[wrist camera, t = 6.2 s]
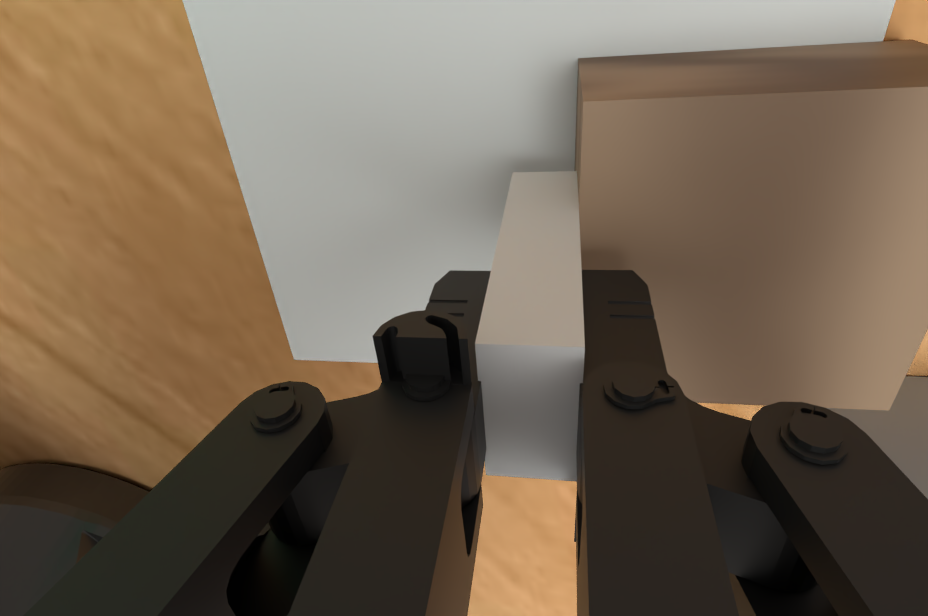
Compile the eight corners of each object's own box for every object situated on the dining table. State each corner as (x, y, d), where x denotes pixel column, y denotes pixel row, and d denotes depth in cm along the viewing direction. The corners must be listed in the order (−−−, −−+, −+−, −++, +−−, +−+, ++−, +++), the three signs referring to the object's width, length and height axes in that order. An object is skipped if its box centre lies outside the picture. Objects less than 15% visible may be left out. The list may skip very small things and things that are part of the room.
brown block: (570, 306, 17) (571, 396, 14) (577, 58, 13) (583, 101, 10) (821, 310, 16) (889, 410, 12) (912, 39, 12) (1044, 81, 9)
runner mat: (297, 354, 20) (294, 359, 20) (179, -35, 13) (171, -35, 13) (774, 371, 18) (777, 377, 17) (919, -100, 11) (926, -100, 11)
